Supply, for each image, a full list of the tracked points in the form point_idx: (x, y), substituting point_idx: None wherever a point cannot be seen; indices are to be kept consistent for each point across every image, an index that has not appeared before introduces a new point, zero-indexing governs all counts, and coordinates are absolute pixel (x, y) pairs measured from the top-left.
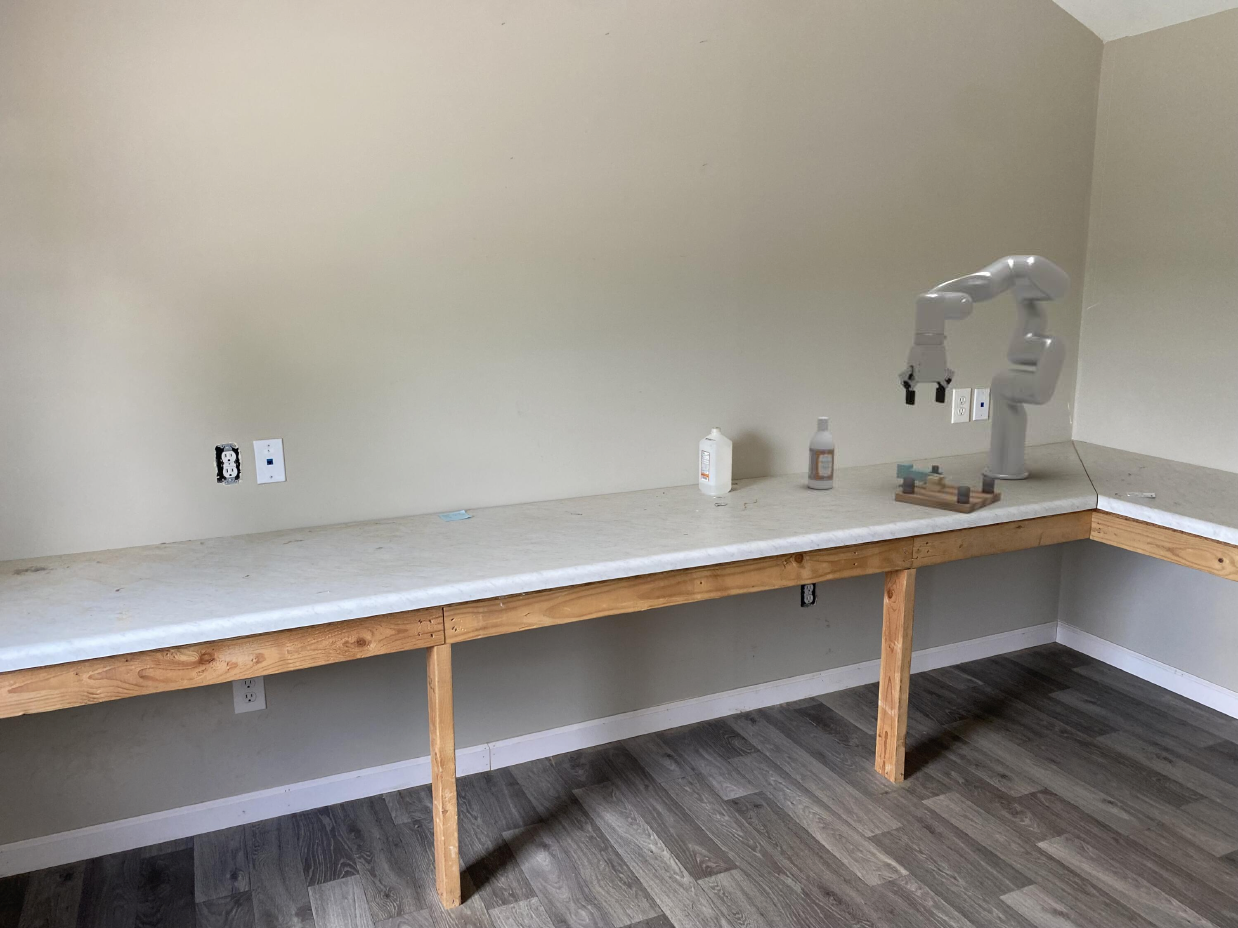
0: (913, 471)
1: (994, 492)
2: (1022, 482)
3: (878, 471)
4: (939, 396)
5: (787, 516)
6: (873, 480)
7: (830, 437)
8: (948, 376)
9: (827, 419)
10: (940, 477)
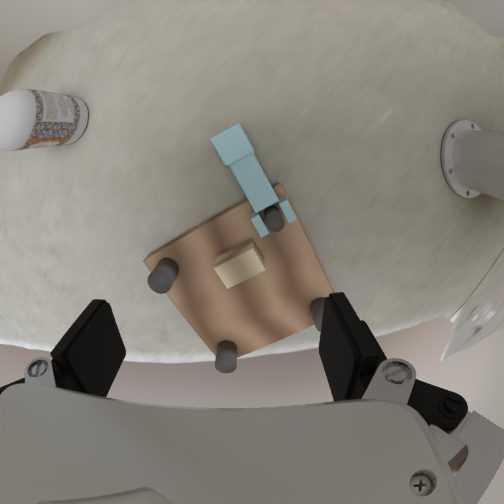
0: (236, 178)
1: None
2: (454, 213)
3: (265, 12)
4: (330, 353)
5: (7, 281)
6: (198, 79)
7: (4, 137)
8: (444, 452)
9: None
10: (243, 280)
